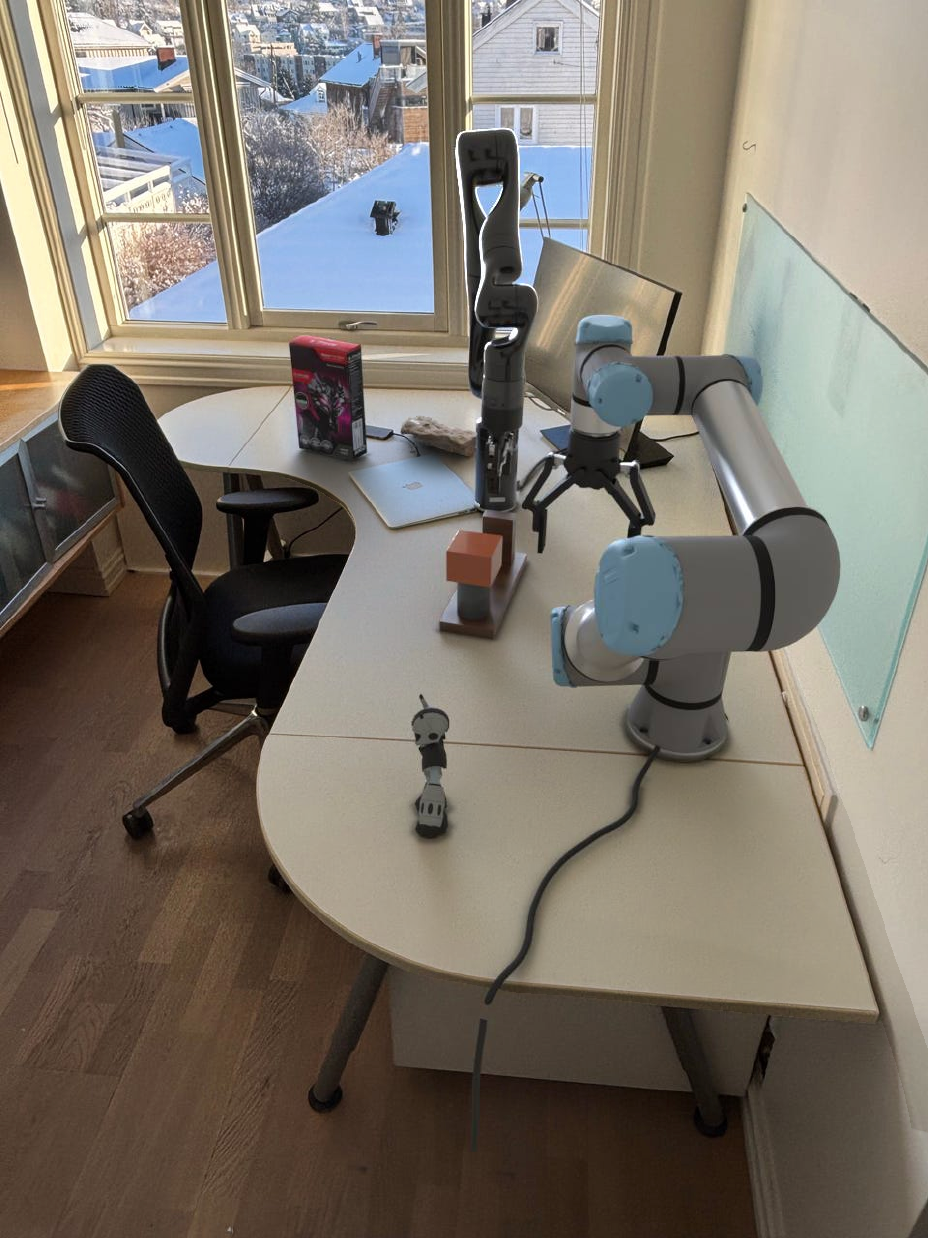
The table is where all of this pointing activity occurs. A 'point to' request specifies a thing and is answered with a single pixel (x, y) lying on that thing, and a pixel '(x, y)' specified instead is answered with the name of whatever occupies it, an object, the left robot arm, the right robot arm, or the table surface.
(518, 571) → the walnut stand
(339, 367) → the graphics card box
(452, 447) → the stone
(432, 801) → the robot
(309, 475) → the table surface
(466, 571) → the terracotta cap
